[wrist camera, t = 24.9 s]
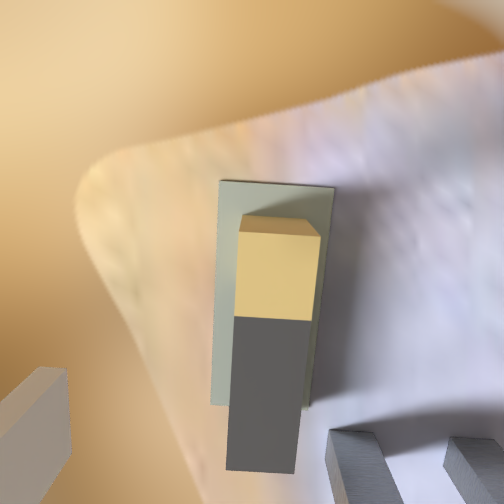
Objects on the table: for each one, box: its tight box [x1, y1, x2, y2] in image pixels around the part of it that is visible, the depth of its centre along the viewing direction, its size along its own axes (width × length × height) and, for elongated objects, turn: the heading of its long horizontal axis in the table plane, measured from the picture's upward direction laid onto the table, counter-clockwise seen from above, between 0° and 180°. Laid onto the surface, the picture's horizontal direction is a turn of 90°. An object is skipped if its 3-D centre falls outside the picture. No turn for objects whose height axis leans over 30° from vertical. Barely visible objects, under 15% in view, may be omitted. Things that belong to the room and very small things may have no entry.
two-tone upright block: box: [226, 215, 321, 474], centre depth 25 cm, size 16×4×6 cm, turn 176°
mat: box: [210, 181, 335, 411], centre depth 27 cm, size 18×8×1 cm, turn 176°
